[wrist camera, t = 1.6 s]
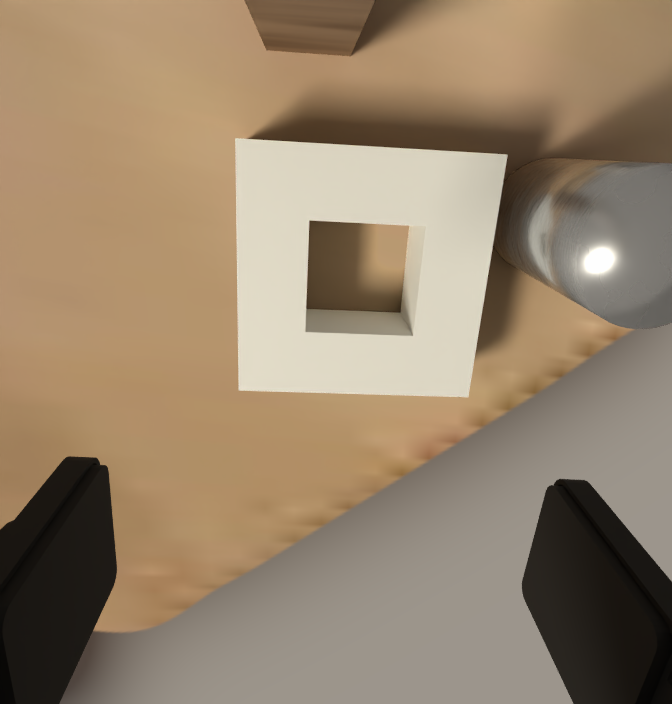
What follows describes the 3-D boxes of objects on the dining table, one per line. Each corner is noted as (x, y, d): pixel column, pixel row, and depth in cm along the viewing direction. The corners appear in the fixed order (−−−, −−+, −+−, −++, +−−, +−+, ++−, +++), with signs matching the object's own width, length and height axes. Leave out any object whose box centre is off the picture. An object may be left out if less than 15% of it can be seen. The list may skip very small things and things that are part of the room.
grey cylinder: (499, 154, 27) (598, 158, 18) (610, 161, 27) (765, 168, 18) (481, 269, 29) (561, 326, 20) (584, 273, 30) (711, 331, 20)
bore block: (245, 139, 26) (235, 138, 22) (480, 153, 27) (507, 154, 23) (247, 360, 31) (238, 390, 27) (449, 367, 31) (468, 397, 28)
